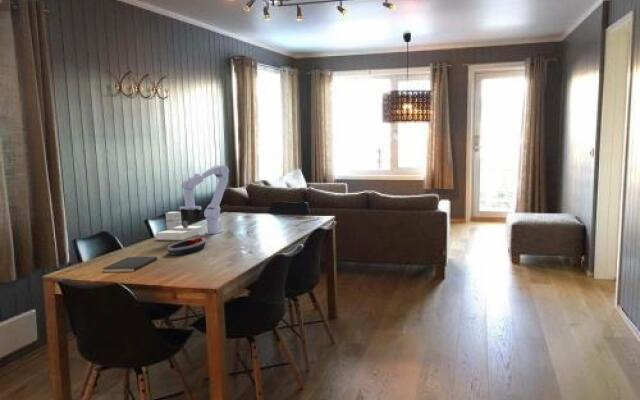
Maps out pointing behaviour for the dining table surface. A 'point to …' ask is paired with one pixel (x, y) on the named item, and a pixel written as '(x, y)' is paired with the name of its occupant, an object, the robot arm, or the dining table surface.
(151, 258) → the hardcover book
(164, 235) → the carton
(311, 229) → the dining table surface
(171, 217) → the supplement box
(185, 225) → the flap
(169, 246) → the dish
